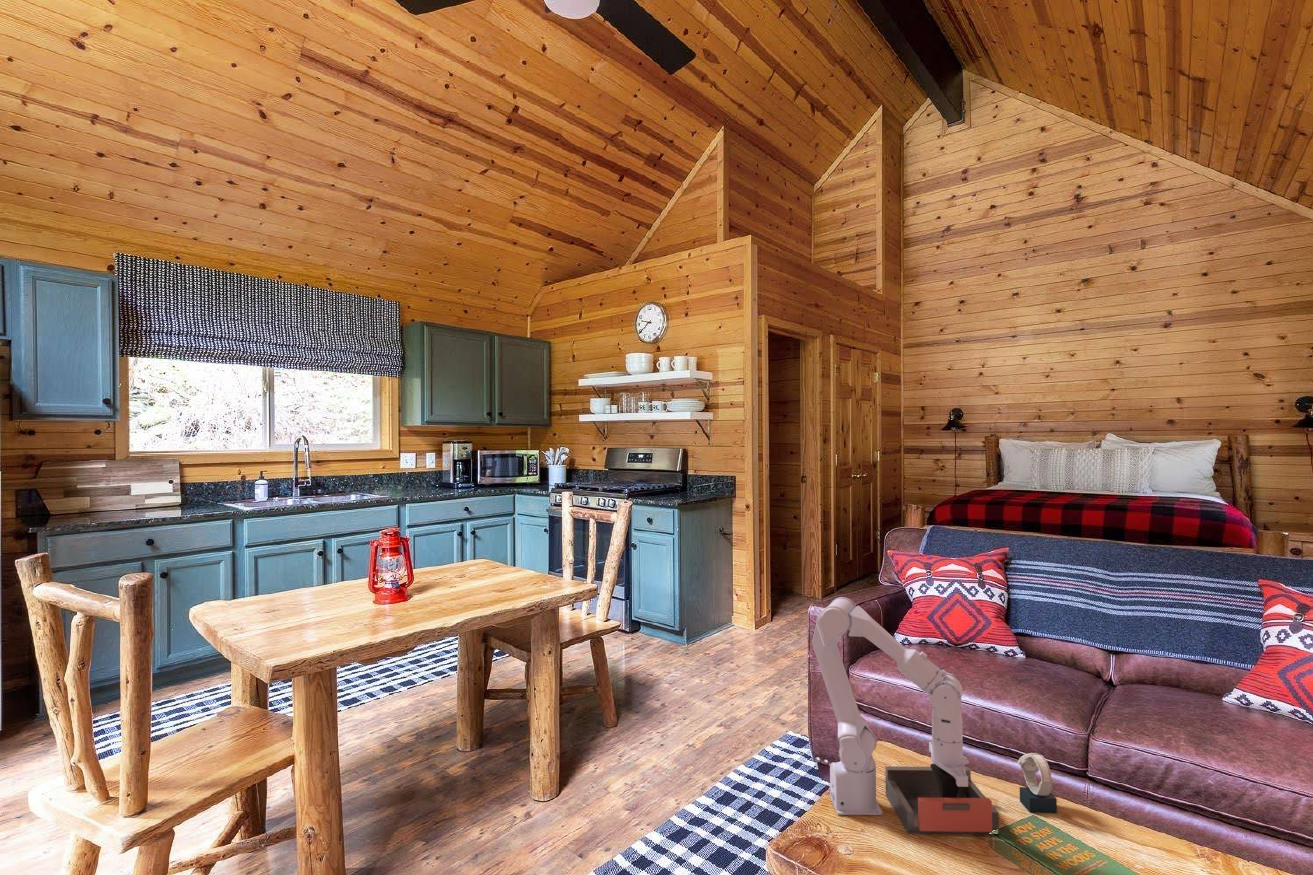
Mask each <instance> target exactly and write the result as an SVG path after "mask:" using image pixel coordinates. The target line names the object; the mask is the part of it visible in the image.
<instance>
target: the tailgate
mask: <svg viewBox="0 0 1313 875" xmlns="http://www.w3.org/2000/svg"><path fill="white" fill-rule="evenodd" d="M992 803H993V801H992V800H991V798H989V797H986V798H918V828H919V830H920V831H960V832H992V805H993V804H992Z"/></svg>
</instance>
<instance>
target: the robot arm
mask: <svg viewBox="0 0 1313 875" xmlns="http://www.w3.org/2000/svg"><path fill="white" fill-rule="evenodd" d="M815 622H816V624H815V628H814V631H813V636H812V639H811V643H812V648H813V651H814V654H815V656H816V660H817V663H818V666H819V669H820V673H821V675H822V678H823V679H822V680H823V682H824V684H825V688H826V690H827V691H826V692H827V694H828V697H829V700H830V703H831V706H832V710H833V712H834V715H835V718H836V722H837V740H838V742H839V743H838V744H839V749H838V756H839V759H840V761H838V762H832V763H830V766H829V783H830V784H829V787H830V788H829V790H830V789H831V790H830V791H829V798H830V799H831V802H832V804H833V807H834V808H835V811H836V813H837V815H839V816H883V811H882V809H881V806H880V805H879V803H878V801H877V776H876V775H877V768H876V767H877V764H876V762H875V759H874V757H873V753H874V751H875V750H876V748H877V745H878V744H877V738H876V735H875V733H874V732H873V731H872V730H871V729H870V727H869V726H868V724H867V721H866V718H864V717H863V716H862V714H861V713H860V710H859V707H858V705H857V701H856V697H855V695H854V693H853V689H852V686H851V684H850V680H849V677H848V675H847V671H846V668H845V665H844V662H843V658H842V656H841V653H840V650H839V646H838V642H839V641H840V639H841V638H842V636H843V635H844V634H845V633H847V631H849V633H848V636H849V637H859V638H860V637H861V638H862V637H863V638H865V639H867V641H869V642H871V643H872V644H874V646H876V647H877V648H879V649H880V651H881V650H882V652H884V653H885V654H886V655H888V656H889V657H891V659H893V660H894V661H896V664H897V670H898V671H899V672H900V673H902V675H903V676H905V677H906V678H907V679H909V680H910V681H911V682H912V683H913V684H914V685H915V686H916V687H918V688H919V689H920V690H922V692H924V693H925V694H928V696H929V701H930V702H931V704H932V711H931V741H929V742H928V750H929V753H930V758H931V761H932V763H931V764H930V766H929V767H931V769H932V770H933V773H934V775H935V777H936V780H937V784H938V788H939V792H940V796H941V798H957V794H958V791H959V788H960V787H968V776H967V775H966V772H965V767H966V765H969V764H970V760H969V759H968V758H967V757H966V756H964V749H963V748H964V747H963V746H964V745H963V744H964V742H963V737H964V736H963V715H962V714H963V712H962V711H963V709H962V702H963V701H962V696H963V686H962V683H961V682H960V680H959V679H958V678H957V677H956V676H955V675H954V674H953V673H950V672H947V671H946V670H945V669H940V668H939V667H938V666H937V665H936V664H934V663H933V661H931V660H929V659H928V658H927V657H928V654H927V653H925V652H924V651H921V652H920V651H918V650H917V649H914V648H912V649H911V648H907V647H905V646H903V645H902V644H901V643H900V641H898V640H897V639H896V638H895V637H894V636H892V635H891V634H890V633H889V632H888V631H887V630H886V629H885V628H884V627H882V626H881V624H879V623H878V622H877V621H876V620H875V619H873V617H871V616H870V614H868V613H867V612H866V611H865V610H864V609H863V607H861V606H859V605H857V606H856V603H855V602H854V601H853V600H852V599H850V598H848V597H845V596H844V597H843V596H841V597H839V596H838V597H836V598H835V599H833V600H832V601H831V602H830V603H829V605H827V606H826V607H825V608H824V609H823V610H822V611H821V612H820V614H819V615H818V616H817V618H815Z"/></svg>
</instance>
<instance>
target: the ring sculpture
mask: <svg viewBox="0 0 1313 875" xmlns="http://www.w3.org/2000/svg"><path fill="white" fill-rule="evenodd" d="M1017 764H1018V765H1019V766H1020V769H1021V772H1022V774H1023V777H1024V779H1025V782H1026V785H1027V786H1024V787H1023V786H1021V787H1020V786H1019V803H1021V805H1022V806H1023V807H1024V808H1025V809H1026V810H1027V811H1028V812H1029V813H1030V814H1058V802H1057V801H1058V800H1057V797H1056V796H1055V795H1054V794H1053V793H1052V788H1053V787H1052V786H1053V782H1052V781H1053V778H1052V773H1051V769H1050V766H1049V763H1048V761H1047V760H1046V758H1045V756H1043V754H1040V753H1036V752H1029V753H1025V754H1023V755H1022V756H1020V757H1019V759H1018V760H1017ZM1037 773H1040V780H1041V781H1039V783H1038V781H1037V776H1036V774H1037Z"/></svg>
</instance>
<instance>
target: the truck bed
mask: <svg viewBox="0 0 1313 875" xmlns="http://www.w3.org/2000/svg"><path fill="white" fill-rule="evenodd" d="M884 769H885V771H884V772H885V778H884V779H885V780H884V781H885V796H886V799H887V800H888V802H889V804H890V805H891V807H892V809H893V811H894V813H895V814H896V816H897V818H898V820H899V822H900V823H901V824H902V827H903V828H904V830H905V832H906V833H907V835H963V836H964V835H967V836H968V835H973V836H974V835H975V836H977V835H978V836H979V835H980V836H983V835H984V836H988V835H989V833H990V832H960V831H920V830H919V828H918V798H941V796H940V792H939V788H938V784H937V780H936V777H935V775H934V773H933V770H932V769H931V766H894V765H893V766H890V765H889V766H887V765H885V766H884ZM965 772H966V775H967V776H968V787H960V788H959V791H958V794H957V798H987V797H986V796H985V794H983V792H982V791H981V790H980V789H979V788H978V786H977V785H976V784H975V783H974V782H973V781H972V778H971V777H972V776H971V775H972V774H971V773H972V772H971V769H970V768H969V767H968V766H965ZM999 817H1000V816H999V811H998V810H997V809H996V807H994V805H993V804H992V831H993V830H997V829H999V830H1000V828H999V826H1000V825H999V824H1000V823H999ZM989 836H990V835H989Z"/></svg>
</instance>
